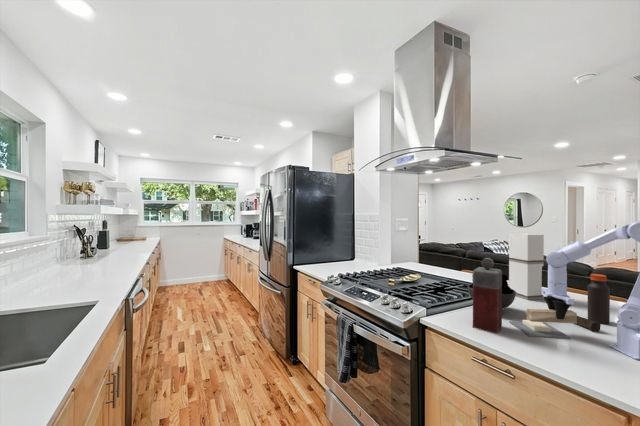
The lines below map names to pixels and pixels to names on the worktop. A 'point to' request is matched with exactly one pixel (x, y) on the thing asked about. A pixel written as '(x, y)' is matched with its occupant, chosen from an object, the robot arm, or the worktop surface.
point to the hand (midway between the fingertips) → (557, 317)
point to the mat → (531, 333)
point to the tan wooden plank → (550, 316)
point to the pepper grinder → (487, 297)
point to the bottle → (599, 299)
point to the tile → (536, 326)
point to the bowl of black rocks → (507, 292)
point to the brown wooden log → (588, 324)
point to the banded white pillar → (526, 265)
